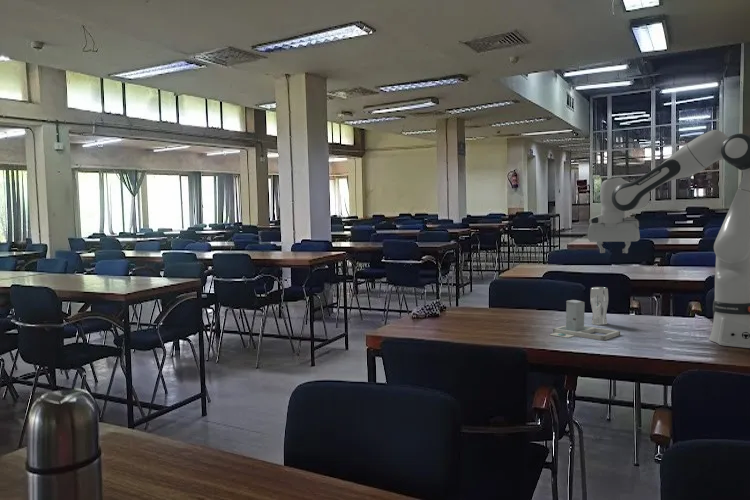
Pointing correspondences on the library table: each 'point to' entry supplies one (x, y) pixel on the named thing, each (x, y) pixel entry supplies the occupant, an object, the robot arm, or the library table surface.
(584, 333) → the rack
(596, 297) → the beer glass
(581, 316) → the skincare box
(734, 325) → the robot arm
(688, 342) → the library table surface
